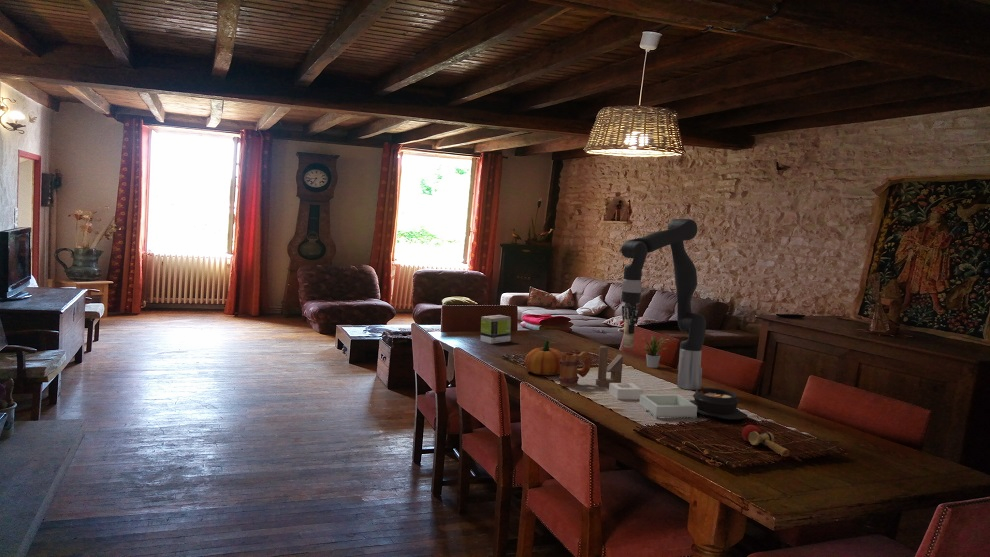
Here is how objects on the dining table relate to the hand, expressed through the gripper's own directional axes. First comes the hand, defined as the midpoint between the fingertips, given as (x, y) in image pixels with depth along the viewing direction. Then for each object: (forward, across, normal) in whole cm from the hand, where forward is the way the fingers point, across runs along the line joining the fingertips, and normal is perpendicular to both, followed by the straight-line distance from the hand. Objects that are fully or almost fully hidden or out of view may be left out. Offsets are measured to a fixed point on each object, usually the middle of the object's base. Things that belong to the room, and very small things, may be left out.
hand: (629, 332), depth 262 cm
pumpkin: (+28, +43, +23) cm, 56 cm away
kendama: (+28, -59, -26) cm, 70 cm away
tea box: (+28, +119, +34) cm, 127 cm away
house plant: (+28, +56, -37) cm, 72 cm away
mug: (+27, +19, +16) cm, 37 cm away
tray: (+27, -19, -10) cm, 34 cm away
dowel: (+6, 0, 0) cm, 6 cm away
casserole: (+28, -22, -28) cm, 45 cm away
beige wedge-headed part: (+27, +17, +1) cm, 32 cm away
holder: (+27, 0, 0) cm, 27 cm away
